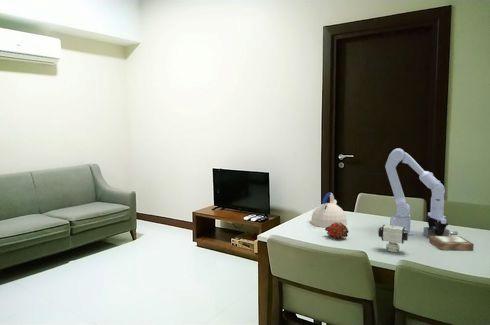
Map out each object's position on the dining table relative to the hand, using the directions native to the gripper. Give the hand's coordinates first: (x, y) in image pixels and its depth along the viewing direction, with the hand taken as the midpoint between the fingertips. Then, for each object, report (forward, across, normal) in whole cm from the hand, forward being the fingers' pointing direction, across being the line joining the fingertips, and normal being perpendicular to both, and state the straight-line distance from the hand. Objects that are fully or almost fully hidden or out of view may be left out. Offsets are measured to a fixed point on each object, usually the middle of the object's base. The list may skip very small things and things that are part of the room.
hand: (435, 233), depth 173 cm
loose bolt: (+2, +4, -10) cm, 11 cm away
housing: (+2, 0, 0) cm, 2 cm away
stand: (+1, -14, 0) cm, 14 cm away
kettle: (+2, +23, +49) cm, 54 cm away
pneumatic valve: (+2, -22, +29) cm, 36 cm away
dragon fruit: (+2, -4, +50) cm, 50 cm away
